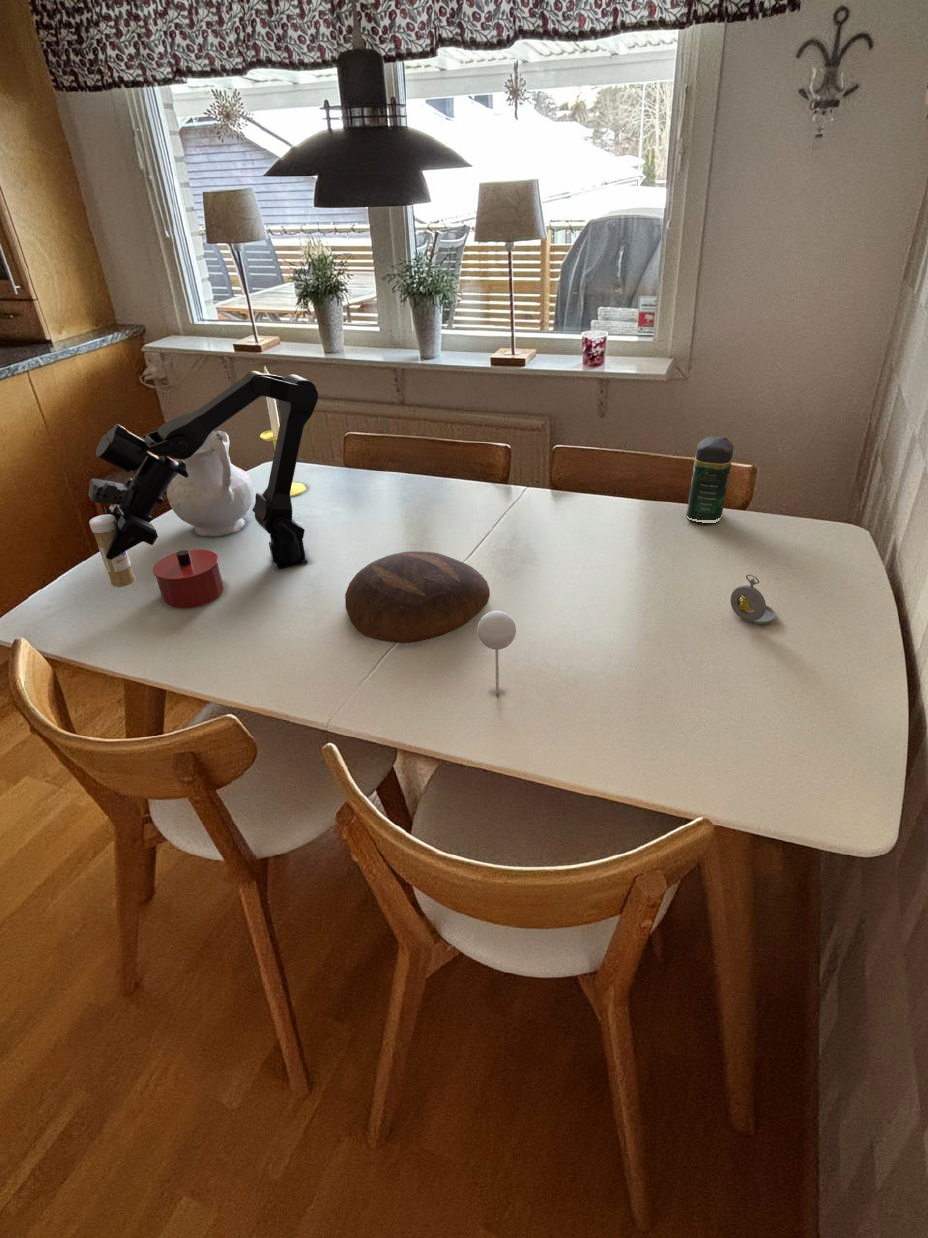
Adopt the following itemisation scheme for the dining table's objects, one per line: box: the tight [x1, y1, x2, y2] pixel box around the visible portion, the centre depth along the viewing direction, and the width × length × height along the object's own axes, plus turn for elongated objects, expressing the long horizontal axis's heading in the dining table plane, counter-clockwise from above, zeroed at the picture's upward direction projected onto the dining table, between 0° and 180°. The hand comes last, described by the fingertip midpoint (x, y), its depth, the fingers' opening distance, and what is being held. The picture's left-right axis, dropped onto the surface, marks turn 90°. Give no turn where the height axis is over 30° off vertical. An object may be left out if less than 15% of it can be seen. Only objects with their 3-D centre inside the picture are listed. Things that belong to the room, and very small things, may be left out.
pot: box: [155, 563, 224, 609], centre depth 145 cm, size 12×12×6 cm
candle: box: [259, 366, 307, 498], centre depth 183 cm, size 10×10×32 cm
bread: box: [344, 550, 491, 644], centre depth 137 cm, size 28×27×9 cm
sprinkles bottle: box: [88, 514, 136, 588], centre depth 136 cm, size 5×5×13 cm
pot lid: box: [151, 548, 220, 581], centre depth 143 cm, size 13×13×4 cm
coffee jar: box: [686, 435, 734, 526], centre depth 163 cm, size 10×8×19 cm
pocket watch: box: [729, 574, 777, 625], centre depth 129 cm, size 8×8×10 cm
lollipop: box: [476, 610, 517, 695], centre depth 112 cm, size 6×6×15 cm
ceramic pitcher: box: [166, 430, 254, 537], centre depth 167 cm, size 22×20×25 cm
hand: (105, 553), depth 135 cm, fingers closed on sprinkles bottle, 4 cm apart
